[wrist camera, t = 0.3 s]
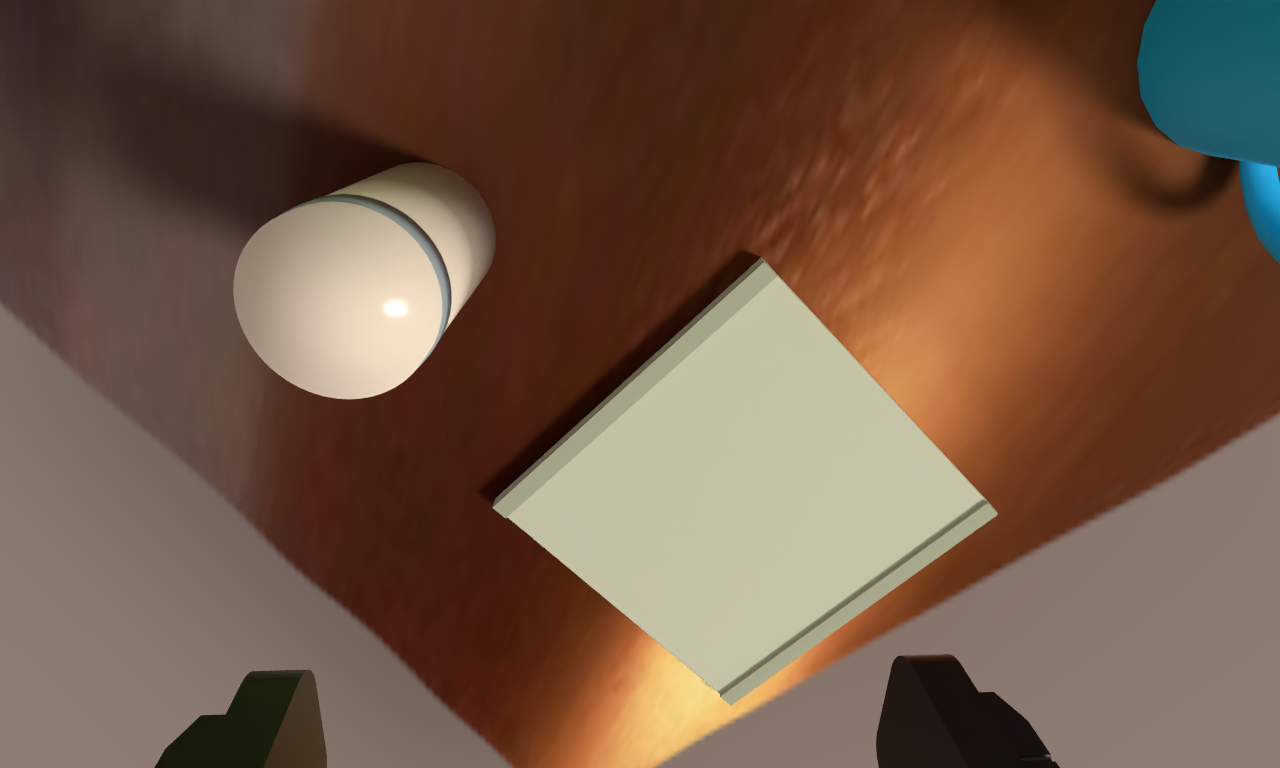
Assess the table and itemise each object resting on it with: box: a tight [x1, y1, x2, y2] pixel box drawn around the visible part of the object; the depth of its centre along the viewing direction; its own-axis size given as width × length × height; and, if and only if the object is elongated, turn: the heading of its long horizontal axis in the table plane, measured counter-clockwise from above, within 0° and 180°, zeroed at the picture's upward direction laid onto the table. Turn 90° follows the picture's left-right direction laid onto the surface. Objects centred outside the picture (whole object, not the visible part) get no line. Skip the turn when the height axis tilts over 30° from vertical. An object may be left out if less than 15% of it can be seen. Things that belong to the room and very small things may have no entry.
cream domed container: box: [233, 162, 496, 399], centre depth 27 cm, size 6×6×10 cm
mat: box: [492, 257, 998, 705], centre depth 36 cm, size 16×16×1 cm
